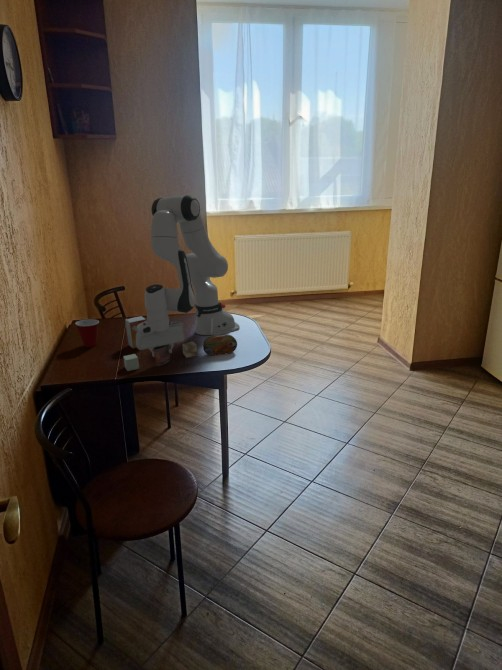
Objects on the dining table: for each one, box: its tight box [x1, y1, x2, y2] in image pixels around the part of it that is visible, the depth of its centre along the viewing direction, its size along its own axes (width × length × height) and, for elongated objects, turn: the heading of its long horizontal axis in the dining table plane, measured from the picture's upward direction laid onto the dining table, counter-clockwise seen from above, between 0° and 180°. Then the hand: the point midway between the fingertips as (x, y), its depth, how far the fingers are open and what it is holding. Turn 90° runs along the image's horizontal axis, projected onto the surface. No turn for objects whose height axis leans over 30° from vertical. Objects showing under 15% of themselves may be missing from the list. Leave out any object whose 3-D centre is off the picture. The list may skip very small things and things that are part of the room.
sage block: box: [123, 353, 140, 372], centre depth 196 cm, size 5×5×5 cm
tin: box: [202, 334, 238, 357], centre depth 206 cm, size 15×3×8 cm, turn 101°
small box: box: [124, 315, 147, 349], centre depth 220 cm, size 8×6×13 cm
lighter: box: [153, 344, 171, 367], centre depth 199 cm, size 8×3×10 cm, turn 148°
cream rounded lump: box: [181, 341, 199, 359], centre depth 207 cm, size 5×5×5 cm
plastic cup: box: [74, 318, 100, 348], centre depth 223 cm, size 11×11×12 cm
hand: (162, 354), depth 199 cm, fingers closed on lighter, 5 cm apart
